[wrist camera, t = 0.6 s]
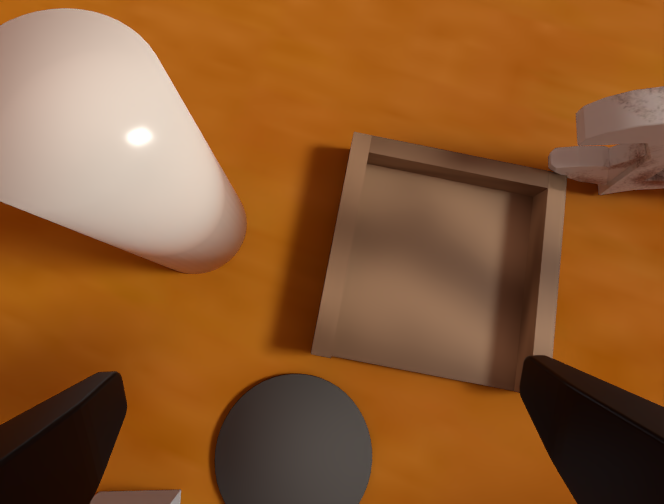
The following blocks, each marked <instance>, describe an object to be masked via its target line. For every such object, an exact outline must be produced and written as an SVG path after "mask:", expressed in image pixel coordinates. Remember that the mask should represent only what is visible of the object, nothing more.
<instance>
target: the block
mask: <svg viewBox="0 0 664 504" xmlns="http://www.w3.org/2000/svg"><path fill="white" fill-rule="evenodd" d="M180 499H181V490H150V491H110V492H99V493H97V494H96V495H95V496H94V497H93V499H92V501H91V503H90V504H180Z"/></svg>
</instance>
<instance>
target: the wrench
mask: <svg viewBox="0 0 664 504" xmlns="http://www.w3.org/2000/svg"><path fill="white" fill-rule="evenodd" d="M576 125H577V140H578V145H579V146H574V147H563V148H555V149H554V150H553V151H552V152H551V153H550V155H549V157H548V164H549V169H551V170H552V171H554V172H556V173H558V174H560V175H567V178H570V179H573V180H577V181H580V182H587V183H594V184H598V194H599V195H603V194H609V193H616V192H623V191H629V190H642V189H661V188H664V87H656V88H648V89H640V90H633V91H629V92H625V93H621V94H617V95H614V96H610V97H606V98H603V99H601V100H598V101H596V102H593V103H590V104H588V105H585V106H584V107H583V108H581V109H580V110H579V111H578V112H577V113H576ZM611 144H619V145H616V146H613V147H610V148H608V147H605V146H586V145H611Z"/></svg>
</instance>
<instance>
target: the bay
mask: <svg viewBox="0 0 664 504" xmlns="http://www.w3.org/2000/svg"><path fill="white" fill-rule="evenodd" d="M566 185H567V175H560V174H558V173H556V172H551V171H546V170H541V169H536V168H531V167H526V166H521V165H516V164H511V163H506V162H501V161H496V160H491V159H486V158H482V157H477V156H472V155H467V154H462V153H457V152H452V151H447V150H442V149H437V148H432V147H427V146H422V145H417V144H412V143H407V142H402V141H397V140H392V139H387V138H382V137H377V136H372V135H367V134H362V133H357V132H354V134H353V139H352V143H351V148H350V153H349V158H348V163H347V168H346V174H345V179H344V184H343V189H342V194H341V199H340V205H339V210H338V215H337V220H336V225H335V230H334V235H333V241H332V246H331V251H330V256H329V261H328V266H327V272H326V277H325V282H324V287H323V292H322V297H321V302H320V308H319V313H318V318H317V323H316V328H315V333H314V339H313V344H312V349H311V354H313V355H318V356H323V357H329V358H331V356H334V357H340V358H345V359H350V360H355V361H360V362H366V363H371V364H376V365H381V366H386V367H392V368H397V369H402V370H407V371H413V372H418V373H423V374H428V375H433V376H439V377H444V378H449V379H454V380H459V381H465V382H470V383H475V384H480V385H485V386H491V387H496V388H501V389H506V390H511V391H516V392H519V393H520V391H519V385H520V379H521V373H522V367H523V362H524V359H525V358H526V357H527V356H532V355H545V356H548V357H550V358H552V357H553V345H554V332H555V320H556V308H557V296H558V283H559V271H560V259H561V247H562V234H563V222H564V210H565V198H566Z"/></svg>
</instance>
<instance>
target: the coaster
mask: <svg viewBox="0 0 664 504" xmlns="http://www.w3.org/2000/svg"><path fill="white" fill-rule="evenodd" d="M371 465H372V447H371V439H370V435H369V431H368V428H367V425H366V423H365V420H364V418H363V416H362V414H361V413H360V411H359V409H358V408H357V406H356V405H355V403H354V402H353V401H352V400H351V398H350V397H349V396H348V395H347V394H346V393H345V392H343V391H342V390H341V389H340V388H339V387H337V386H335V385H334V384H332V383H331V382H329V381H326V380H324V379H322V378H319V377H316V376H312V375H306V374H286V375H280V376H277V377H273V378H270V379H268V380H266V381H263V382H261V383H260V384H258V385H256V386H255V387H253V388H252V389H251V390H249V391H248V392H247V393H246V394H244V395H243V396H242V397H241V398H240V399H239V400H238V401H237V403H236V404H235V405H234V406H233V408H232V409H231V411H230V412H229V414H228V415H227V417H226V419H225V421H224V423H223V425H222V427H221V430H220V433H219V436H218V439H217V445H216V450H215V473H216V478H217V484H218V487H219V490H220V493H221V495H222V497H223V500H224V502H225V504H359V502H360V500H361V498H362V496H363V495H364V492H365V490H366V487H367V484H368V481H369V477H370V473H371Z"/></svg>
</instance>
